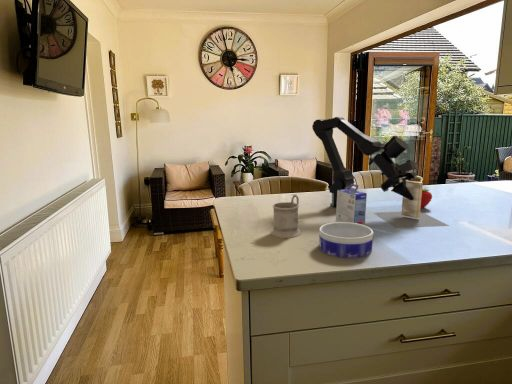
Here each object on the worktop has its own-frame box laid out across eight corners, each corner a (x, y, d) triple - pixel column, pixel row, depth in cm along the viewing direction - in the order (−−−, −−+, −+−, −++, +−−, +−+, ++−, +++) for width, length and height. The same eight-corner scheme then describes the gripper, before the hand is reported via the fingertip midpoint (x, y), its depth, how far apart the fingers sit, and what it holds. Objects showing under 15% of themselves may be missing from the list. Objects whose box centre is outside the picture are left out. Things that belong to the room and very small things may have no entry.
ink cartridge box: (366, 226, 125) (367, 186, 123) (354, 229, 123) (355, 188, 120) (346, 220, 134) (348, 182, 131) (335, 222, 132) (336, 183, 129)
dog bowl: (381, 257, 99) (382, 236, 97) (326, 260, 98) (327, 239, 96) (360, 239, 114) (361, 220, 112) (313, 241, 112) (313, 222, 111)
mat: (395, 228, 122) (395, 227, 122) (373, 213, 142) (373, 212, 142) (449, 226, 124) (449, 225, 123) (419, 211, 143) (419, 210, 143)
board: (401, 215, 134) (403, 181, 132) (403, 214, 136) (406, 180, 133) (417, 218, 130) (420, 183, 128) (419, 217, 132) (422, 182, 129)
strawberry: (424, 211, 144) (426, 187, 142) (409, 207, 150) (410, 184, 148) (434, 209, 146) (436, 185, 144) (418, 205, 153) (420, 182, 151)
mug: (292, 239, 114) (292, 203, 111) (265, 235, 119) (265, 199, 116) (310, 227, 126) (311, 194, 123) (285, 223, 131) (285, 191, 128)
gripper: (391, 154, 125) (420, 189, 120) (413, 150, 138) (441, 182, 132) (369, 174, 132) (396, 208, 127) (392, 168, 145) (418, 199, 139)
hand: (414, 199), depth 131 cm, fingers closed on board, 2 cm apart
